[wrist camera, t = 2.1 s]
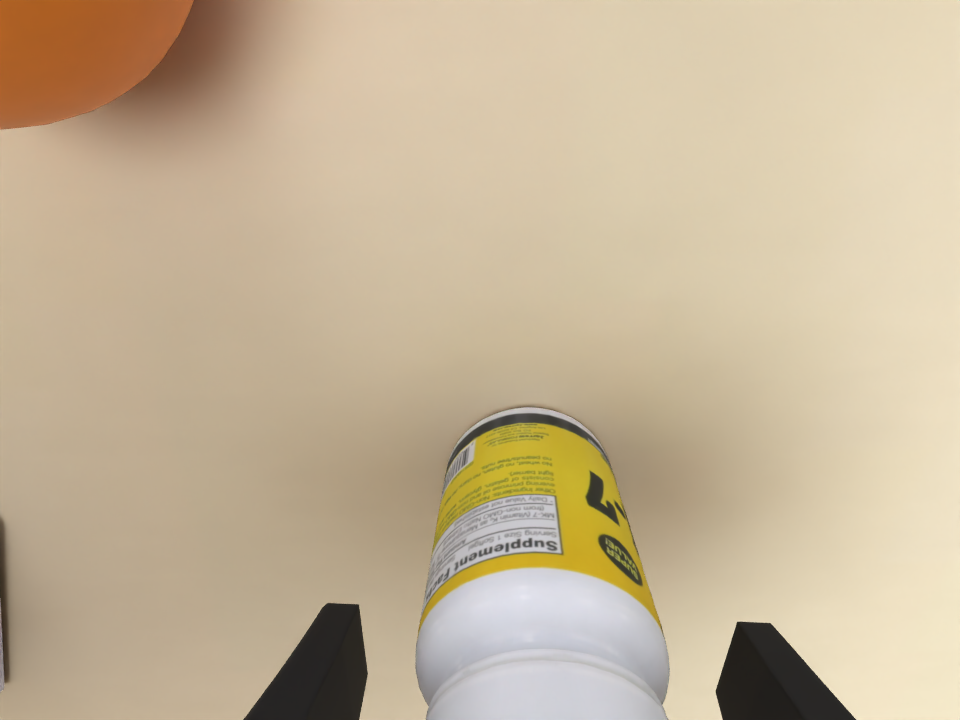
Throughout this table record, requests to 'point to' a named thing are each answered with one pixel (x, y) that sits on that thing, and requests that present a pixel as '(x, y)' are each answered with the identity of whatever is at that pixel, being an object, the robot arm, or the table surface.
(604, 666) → the supplement bottle
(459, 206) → the table surface
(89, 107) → the orange
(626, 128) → the table surface
